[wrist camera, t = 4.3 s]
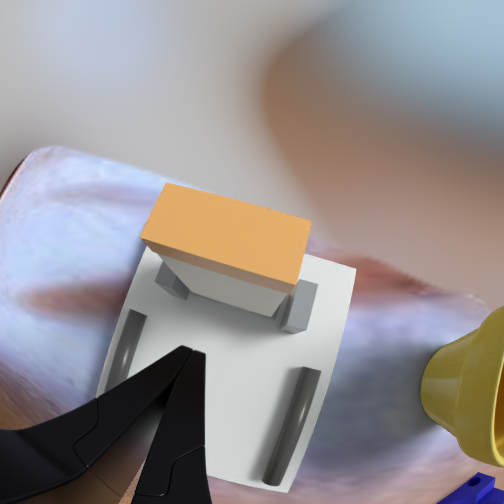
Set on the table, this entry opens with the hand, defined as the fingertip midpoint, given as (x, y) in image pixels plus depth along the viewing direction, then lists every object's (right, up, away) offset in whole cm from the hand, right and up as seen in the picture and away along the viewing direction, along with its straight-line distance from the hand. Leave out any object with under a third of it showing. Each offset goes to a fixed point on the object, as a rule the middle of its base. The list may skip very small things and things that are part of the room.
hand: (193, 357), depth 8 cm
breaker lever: (+1, +1, +7) cm, 7 cm away
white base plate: (0, -4, +9) cm, 10 cm away
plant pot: (+18, -7, +8) cm, 21 cm away
